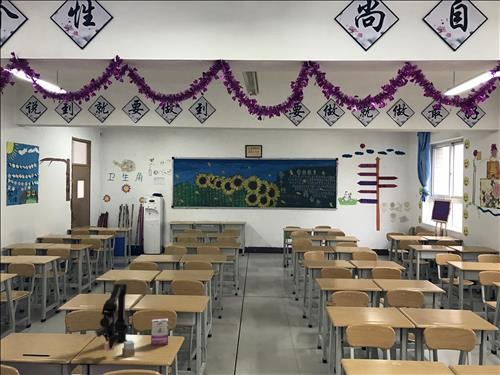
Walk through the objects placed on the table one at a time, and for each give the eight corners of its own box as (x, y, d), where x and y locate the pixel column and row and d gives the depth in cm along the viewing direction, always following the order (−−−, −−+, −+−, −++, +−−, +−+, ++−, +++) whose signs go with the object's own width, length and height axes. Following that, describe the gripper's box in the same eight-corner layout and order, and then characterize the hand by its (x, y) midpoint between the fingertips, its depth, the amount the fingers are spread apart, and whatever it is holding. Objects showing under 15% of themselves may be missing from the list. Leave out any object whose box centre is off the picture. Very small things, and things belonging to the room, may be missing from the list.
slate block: (123, 348, 276) (123, 341, 276) (131, 346, 278) (131, 340, 278) (126, 350, 271) (126, 344, 271) (134, 349, 274) (134, 342, 274)
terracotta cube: (104, 348, 272) (104, 341, 272) (111, 347, 275) (111, 340, 275) (106, 351, 269) (106, 343, 269) (113, 349, 271) (114, 342, 271)
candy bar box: (167, 342, 299) (168, 318, 299) (168, 344, 294) (168, 320, 294) (151, 343, 297) (151, 318, 297) (150, 345, 292) (151, 321, 292)
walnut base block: (122, 354, 276) (122, 348, 276) (131, 352, 279) (131, 346, 279) (125, 357, 271) (125, 351, 271) (134, 355, 274) (134, 349, 274)
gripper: (92, 320, 275) (91, 345, 275) (101, 328, 260) (100, 354, 260) (110, 317, 281) (109, 342, 281) (119, 325, 266) (119, 351, 266)
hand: (109, 347), depth 272 cm, fingers closed on terracotta cube, 4 cm apart
